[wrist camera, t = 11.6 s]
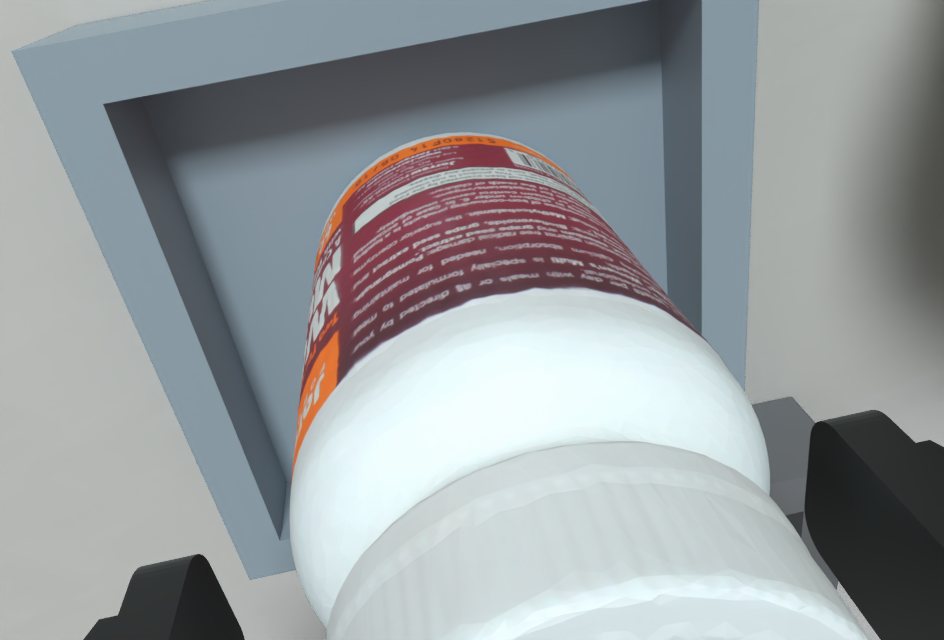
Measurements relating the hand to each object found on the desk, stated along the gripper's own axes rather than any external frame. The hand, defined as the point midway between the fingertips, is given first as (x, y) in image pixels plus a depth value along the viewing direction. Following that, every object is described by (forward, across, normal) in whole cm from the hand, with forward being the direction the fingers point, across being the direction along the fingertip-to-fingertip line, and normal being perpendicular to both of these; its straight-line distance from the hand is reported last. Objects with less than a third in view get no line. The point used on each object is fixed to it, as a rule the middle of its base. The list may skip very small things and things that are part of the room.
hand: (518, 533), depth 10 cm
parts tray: (+9, 0, 0) cm, 9 cm away
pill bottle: (+8, 0, 0) cm, 8 cm away
